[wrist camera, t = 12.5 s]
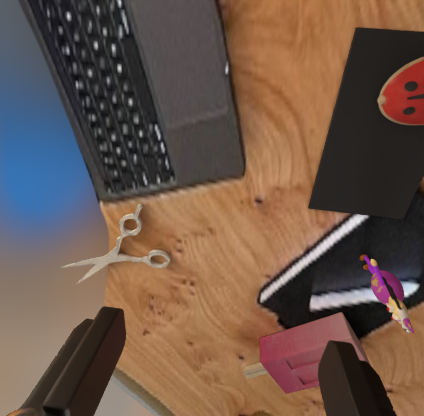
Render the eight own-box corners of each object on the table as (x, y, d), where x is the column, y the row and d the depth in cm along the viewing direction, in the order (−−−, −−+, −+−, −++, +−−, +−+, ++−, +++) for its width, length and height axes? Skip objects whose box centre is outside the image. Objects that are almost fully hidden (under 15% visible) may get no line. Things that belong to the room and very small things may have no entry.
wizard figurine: (342, 234, 37) (381, 299, 26) (366, 224, 36) (416, 288, 25) (370, 290, 41) (414, 367, 30) (392, 283, 40) (446, 360, 29)
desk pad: (355, 27, 27) (356, 27, 27) (484, 36, 26) (486, 36, 26) (308, 207, 36) (308, 208, 36) (402, 218, 35) (403, 219, 35)
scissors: (180, 260, 41) (85, 300, 47) (181, 257, 42) (88, 296, 48) (140, 204, 38) (42, 255, 44) (141, 201, 38) (45, 252, 44)
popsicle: (232, 371, 45) (351, 337, 39) (233, 345, 50) (341, 310, 43) (258, 401, 48) (374, 374, 42) (257, 374, 53) (362, 346, 46)
